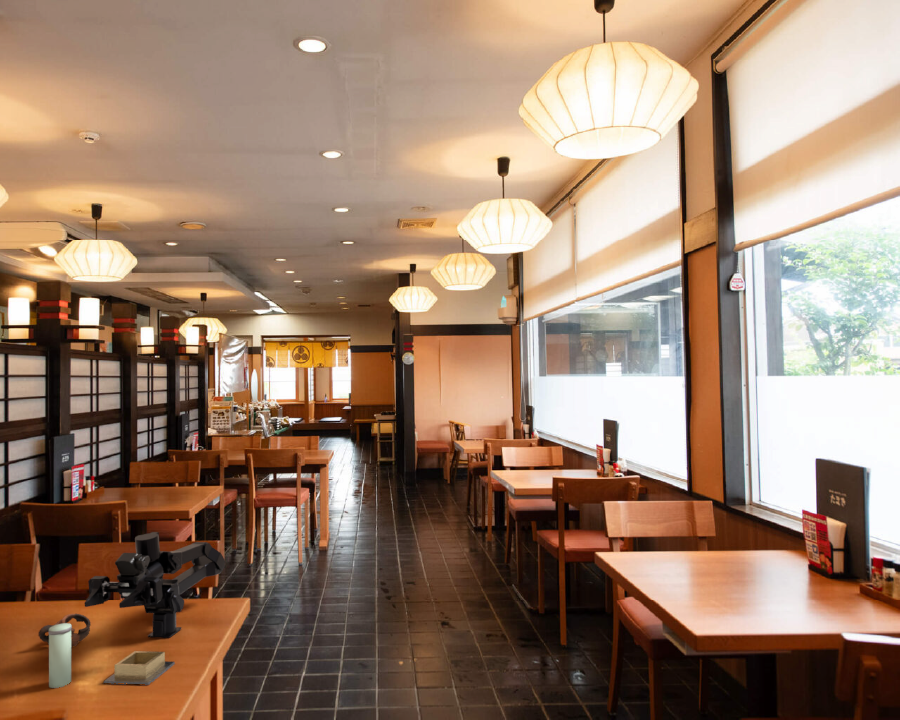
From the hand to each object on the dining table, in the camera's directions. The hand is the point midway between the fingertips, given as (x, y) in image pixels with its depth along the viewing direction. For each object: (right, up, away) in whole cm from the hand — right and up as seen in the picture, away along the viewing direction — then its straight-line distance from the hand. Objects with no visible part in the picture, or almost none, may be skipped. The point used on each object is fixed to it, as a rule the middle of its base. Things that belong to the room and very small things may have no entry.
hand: (102, 605), depth 152 cm
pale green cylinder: (-7, -16, -5) cm, 18 cm away
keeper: (+9, -16, -1) cm, 19 cm away
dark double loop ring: (-21, -18, +19) cm, 33 cm away
